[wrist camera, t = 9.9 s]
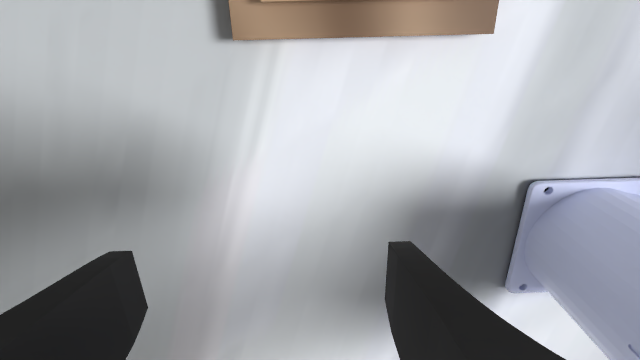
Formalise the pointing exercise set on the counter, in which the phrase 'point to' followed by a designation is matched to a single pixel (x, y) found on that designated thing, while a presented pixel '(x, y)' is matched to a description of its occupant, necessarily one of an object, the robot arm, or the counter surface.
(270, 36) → the walnut base
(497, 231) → the counter surface
